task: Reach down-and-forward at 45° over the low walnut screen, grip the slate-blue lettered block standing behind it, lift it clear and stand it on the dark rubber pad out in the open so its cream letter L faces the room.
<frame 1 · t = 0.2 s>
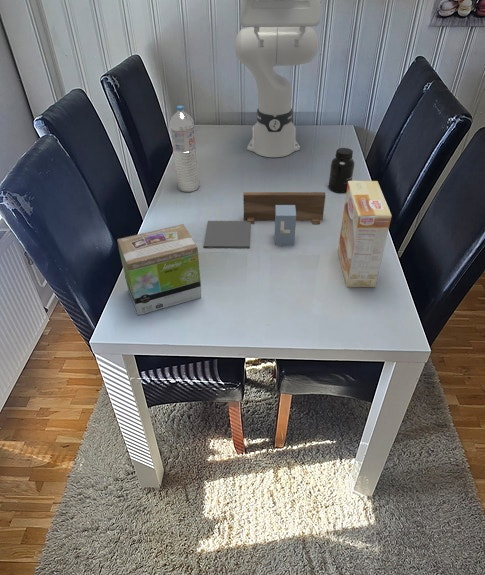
hand: (279, 47, 117), 39 cm above the table, tool pointing down, fingers open, 8 cm apart
screen: (283, 219, 125), on the table
letter block: (284, 239, 118), on the table
water bottle: (188, 188, 140), on the table
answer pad: (228, 234, 120), on the table
tea box: (165, 294, 103), on the table
coffeecake box: (355, 268, 109), on the table
supplement bottle: (339, 188, 138), on the table
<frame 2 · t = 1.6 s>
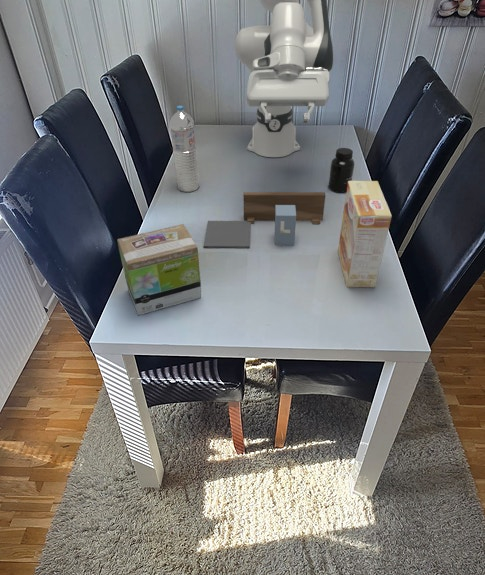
hand: (287, 121, 110), 27 cm above the table, tool tilted 45°, fingers open, 8 cm apart
nothing on the table moved.
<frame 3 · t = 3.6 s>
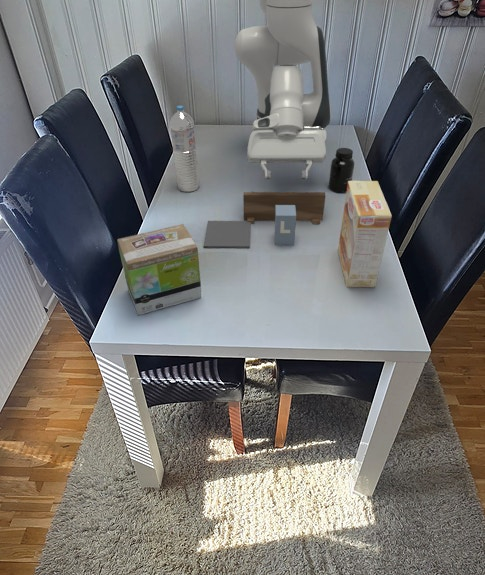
hand: (286, 178, 115), 14 cm above the table, tool tilted 45°, fingers open, 8 cm apart
nothing on the table moved.
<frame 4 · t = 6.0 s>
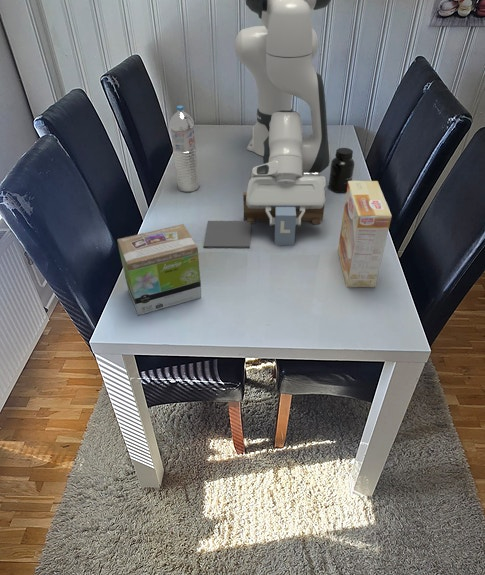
hand: (285, 225, 114), 5 cm above the table, tool tilted 45°, fingers closed on letter block, 5 cm apart
letter block: (284, 239, 118), on the table, touching gripper
everything else where it was.
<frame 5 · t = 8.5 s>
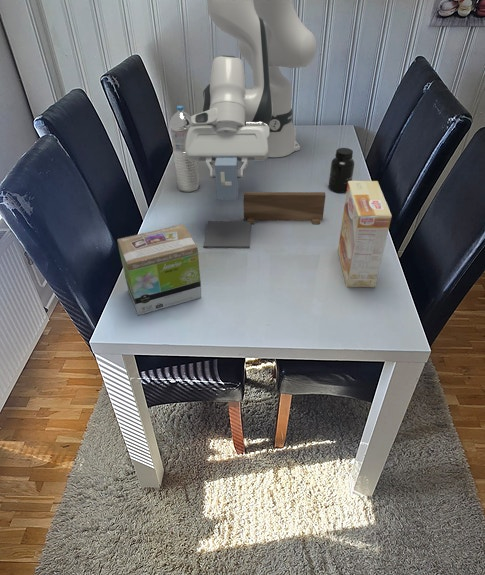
hand: (226, 177, 108), 17 cm above the table, tool tilted 45°, fingers closed on letter block, 5 cm apart
letter block: (227, 194, 112), point 12 cm above the table, touching gripper
everything else where it was.
when the fingers open (6 cm above the table, at t = 10.9 s): letter block stays where it is, resting on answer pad.
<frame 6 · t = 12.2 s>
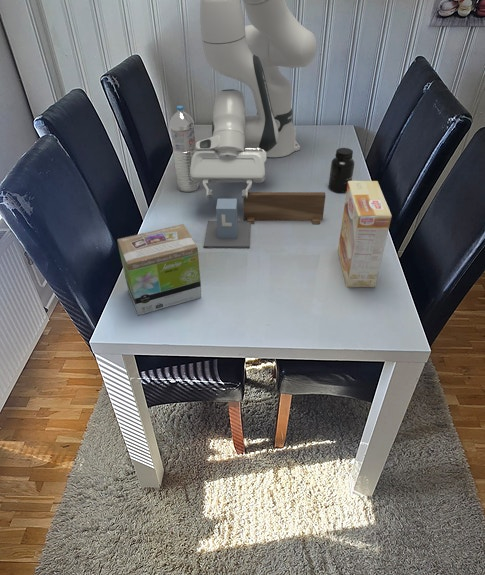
hand: (227, 197, 119), 8 cm above the table, tool tilted 50°, fingers open, 8 cm apart
letter block: (228, 233, 120), point 1 cm above the table, touching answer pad
everything else where it was.
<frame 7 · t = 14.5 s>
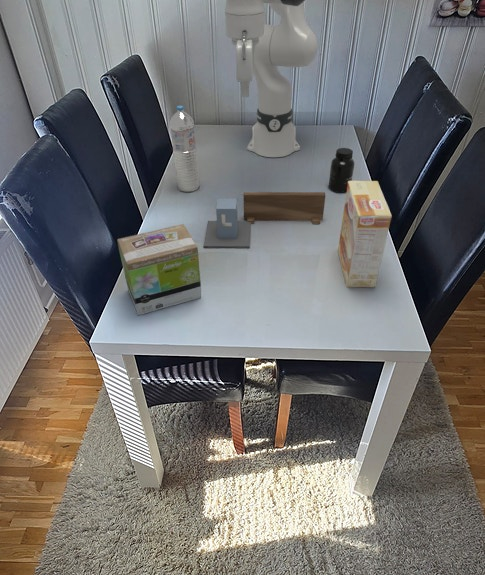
hand: (245, 89, 110), 32 cm above the table, tool pointing down, fingers open, 8 cm apart
nothing on the table moved.
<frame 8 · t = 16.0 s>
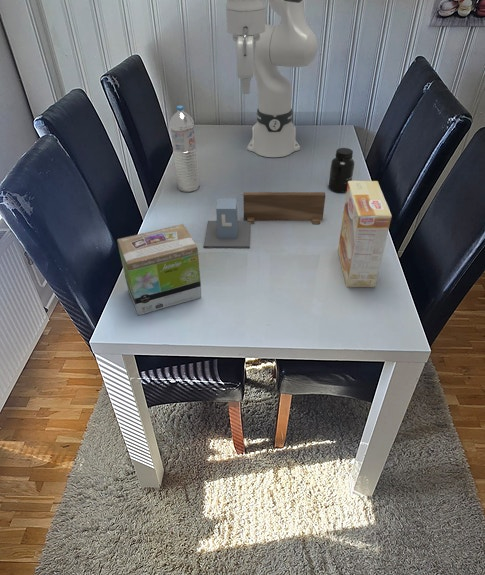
hand: (246, 86, 110), 33 cm above the table, tool pointing down, fingers open, 8 cm apart
nothing on the table moved.
at the end: letter block inside the target area on the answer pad (0.0 cm from its centre), point 0.6 cm above the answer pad's base; letter block tilted 0°; the gripper is holding nothing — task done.
